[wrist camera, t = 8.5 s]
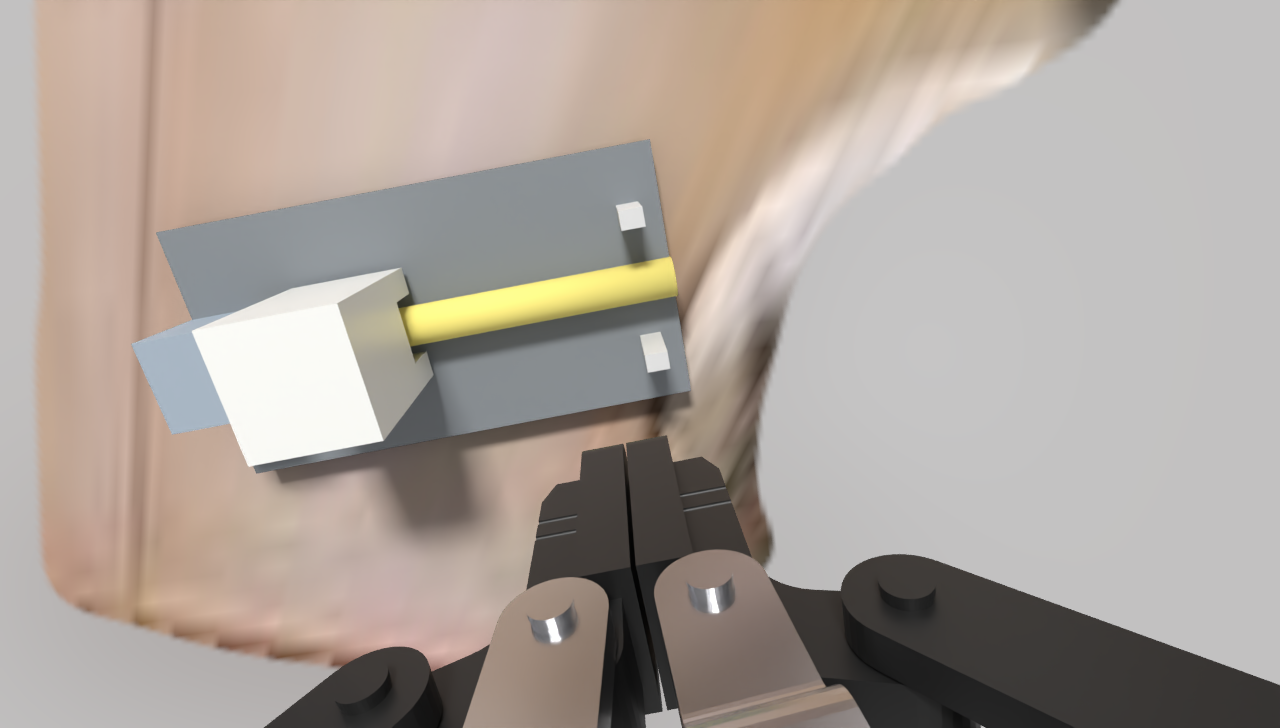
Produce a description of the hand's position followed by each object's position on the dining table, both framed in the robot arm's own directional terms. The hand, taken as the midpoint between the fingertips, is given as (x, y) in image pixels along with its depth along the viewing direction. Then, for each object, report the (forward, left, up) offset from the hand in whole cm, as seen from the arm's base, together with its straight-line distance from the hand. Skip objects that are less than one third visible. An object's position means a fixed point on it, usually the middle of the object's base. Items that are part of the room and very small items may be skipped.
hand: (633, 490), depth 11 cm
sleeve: (+12, 0, -19) cm, 22 cm away
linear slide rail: (+8, 0, -21) cm, 22 cm away
